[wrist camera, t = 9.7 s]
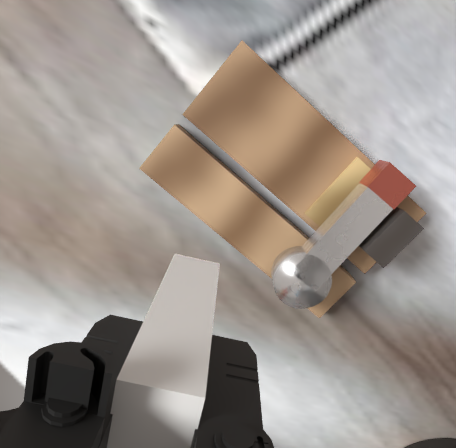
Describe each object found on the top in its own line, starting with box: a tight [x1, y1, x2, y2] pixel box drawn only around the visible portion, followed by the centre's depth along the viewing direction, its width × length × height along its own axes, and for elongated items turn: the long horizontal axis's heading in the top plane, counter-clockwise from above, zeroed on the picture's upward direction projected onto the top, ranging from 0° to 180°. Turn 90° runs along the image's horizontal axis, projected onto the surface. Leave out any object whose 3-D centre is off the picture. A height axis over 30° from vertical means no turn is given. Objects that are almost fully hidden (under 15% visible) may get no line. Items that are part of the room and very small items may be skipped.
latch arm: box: [271, 160, 416, 309], centre depth 30 cm, size 13×4×2 cm, turn 141°
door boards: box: [139, 41, 426, 318], centre depth 32 cm, size 20×12×6 cm, turn 49°
